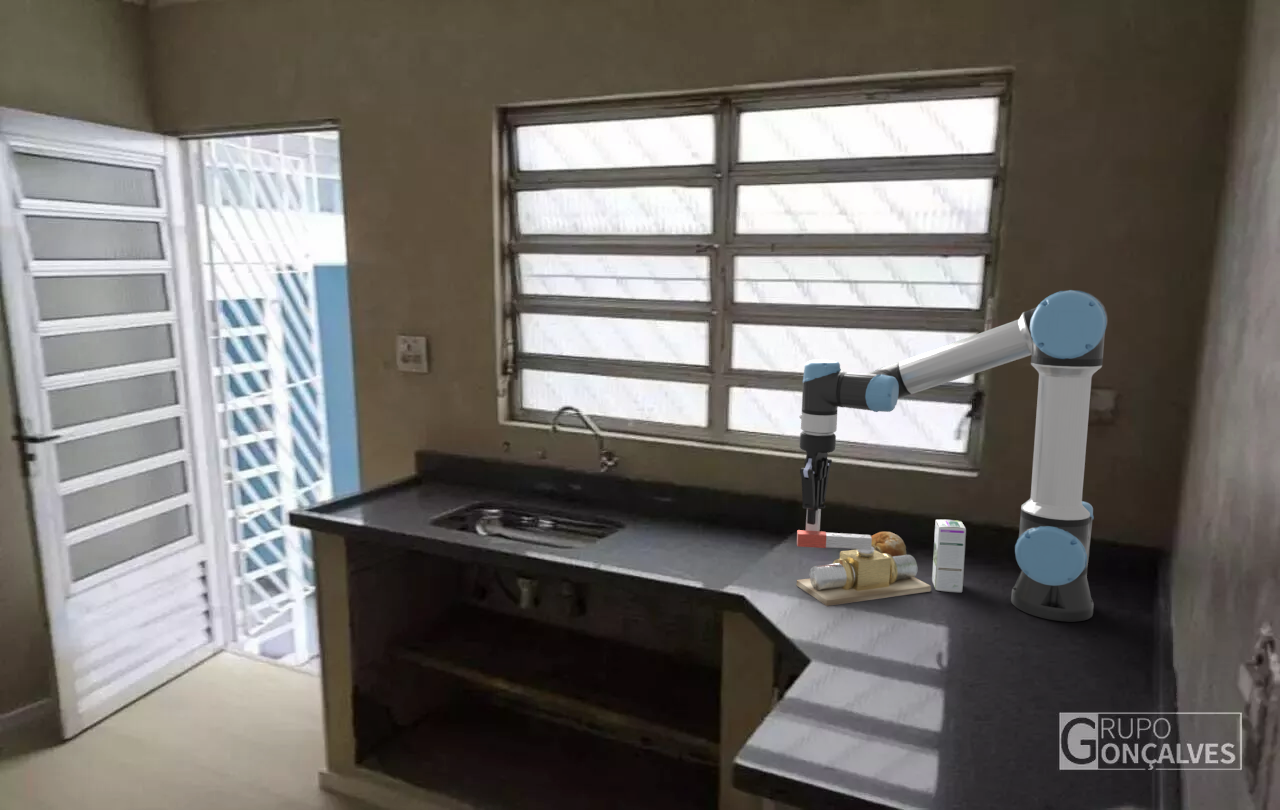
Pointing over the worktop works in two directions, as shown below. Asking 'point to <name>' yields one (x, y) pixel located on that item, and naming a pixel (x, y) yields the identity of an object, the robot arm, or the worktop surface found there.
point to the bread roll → (888, 544)
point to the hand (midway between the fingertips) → (812, 536)
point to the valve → (863, 571)
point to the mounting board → (864, 591)
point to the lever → (836, 541)
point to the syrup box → (949, 555)
